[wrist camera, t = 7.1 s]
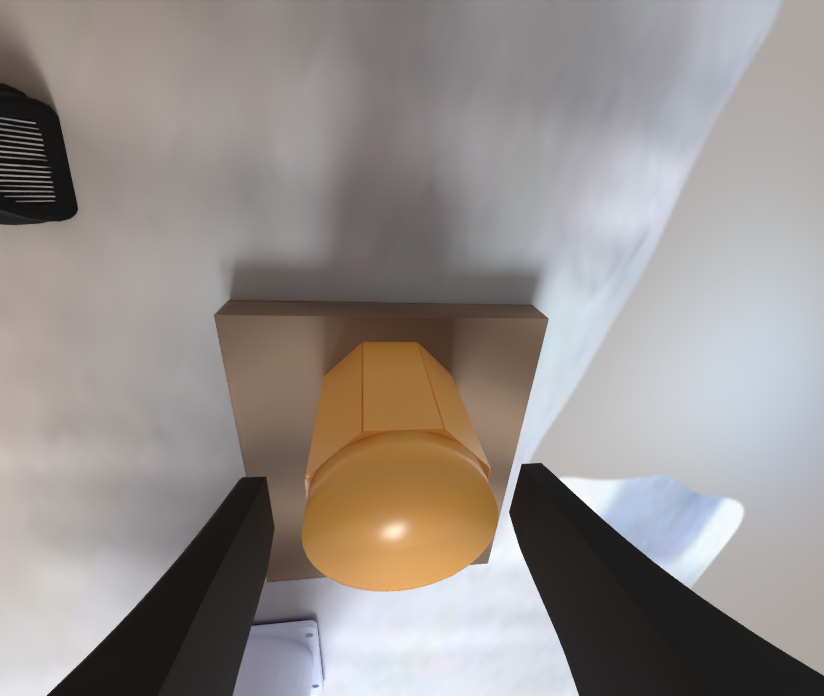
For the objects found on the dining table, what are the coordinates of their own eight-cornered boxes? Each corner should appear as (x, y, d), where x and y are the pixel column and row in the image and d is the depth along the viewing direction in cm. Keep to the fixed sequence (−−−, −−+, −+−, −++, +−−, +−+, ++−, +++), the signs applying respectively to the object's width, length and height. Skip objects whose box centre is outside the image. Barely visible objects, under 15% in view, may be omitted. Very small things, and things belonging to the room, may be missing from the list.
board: (480, 538, 22) (513, 646, 17) (273, 554, 20) (245, 679, 15) (532, 305, 15) (613, 372, 10) (228, 300, 13) (152, 377, 8)
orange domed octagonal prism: (443, 443, 16) (483, 582, 11) (327, 447, 15) (308, 599, 10) (455, 342, 14) (515, 454, 8) (321, 341, 13) (292, 464, 8)
